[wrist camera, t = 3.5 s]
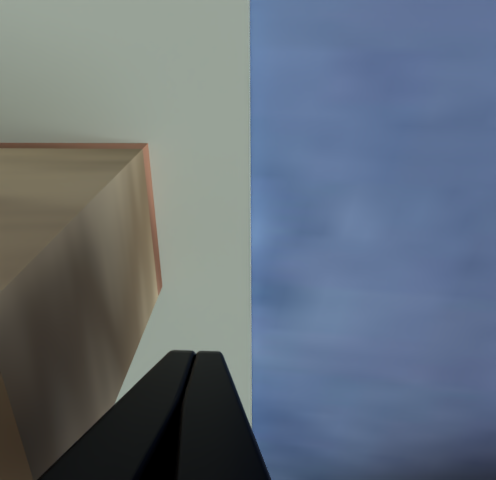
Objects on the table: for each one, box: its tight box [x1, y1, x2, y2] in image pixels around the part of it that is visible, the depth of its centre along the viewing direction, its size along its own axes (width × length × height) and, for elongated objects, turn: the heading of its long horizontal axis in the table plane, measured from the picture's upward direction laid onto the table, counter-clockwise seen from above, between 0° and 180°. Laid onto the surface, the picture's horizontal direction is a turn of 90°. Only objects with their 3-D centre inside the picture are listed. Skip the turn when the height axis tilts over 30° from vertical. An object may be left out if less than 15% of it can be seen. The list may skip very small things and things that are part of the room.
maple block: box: [0, 143, 162, 480], centre depth 10 cm, size 4×4×8 cm
